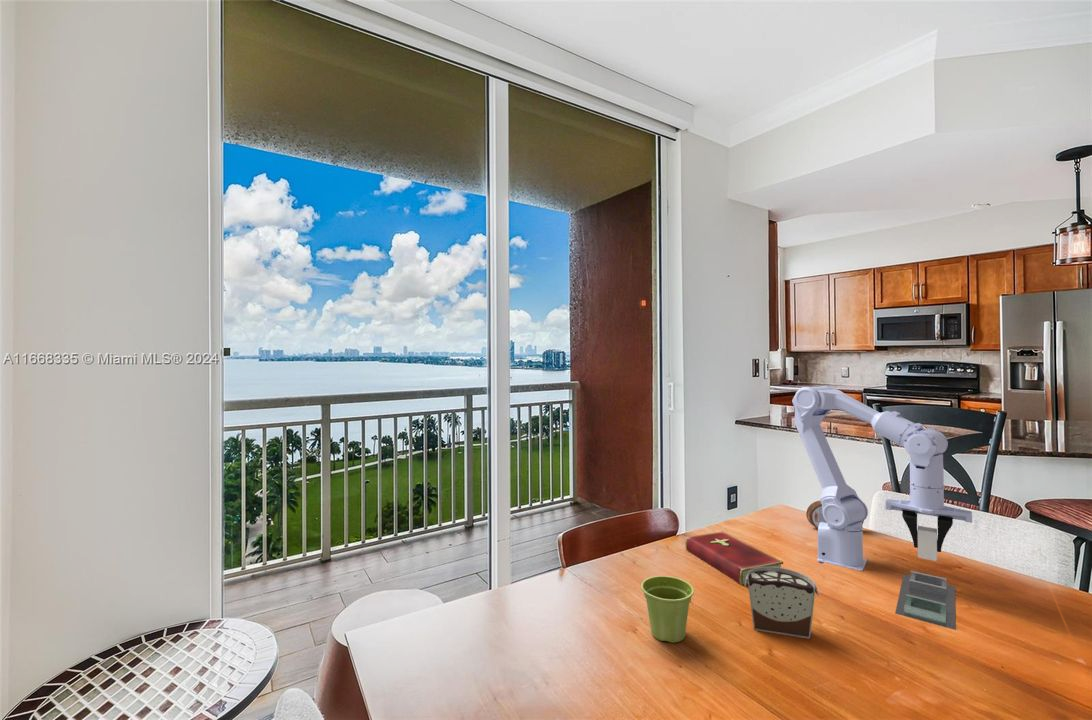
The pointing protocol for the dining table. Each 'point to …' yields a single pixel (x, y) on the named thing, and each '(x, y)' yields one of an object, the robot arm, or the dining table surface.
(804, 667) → the dining table surface
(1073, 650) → the dining table surface
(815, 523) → the tin
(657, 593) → the plant pot
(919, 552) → the plug
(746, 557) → the hardcover book
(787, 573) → the grey brown curved-top block
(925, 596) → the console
